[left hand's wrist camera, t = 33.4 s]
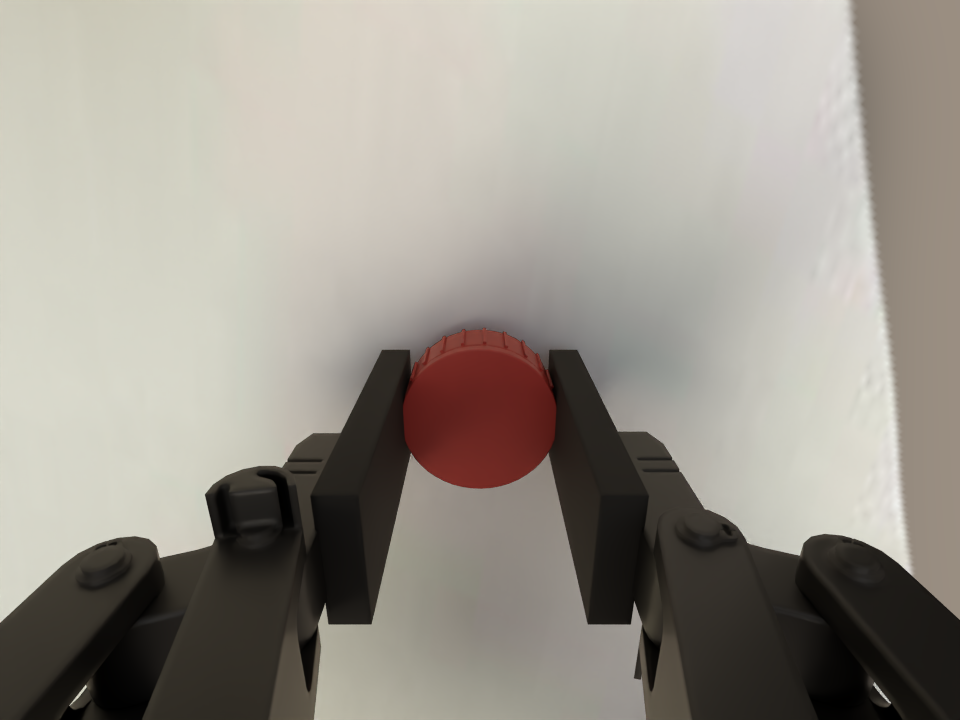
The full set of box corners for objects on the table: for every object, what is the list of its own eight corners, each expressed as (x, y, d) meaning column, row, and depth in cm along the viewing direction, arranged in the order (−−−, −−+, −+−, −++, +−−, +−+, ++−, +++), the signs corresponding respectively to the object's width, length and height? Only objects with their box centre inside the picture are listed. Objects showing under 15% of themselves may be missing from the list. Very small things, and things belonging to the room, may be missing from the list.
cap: (432, 472, 15) (427, 506, 14) (386, 349, 14) (375, 372, 13) (566, 439, 15) (575, 470, 14) (532, 309, 14) (538, 327, 12)
